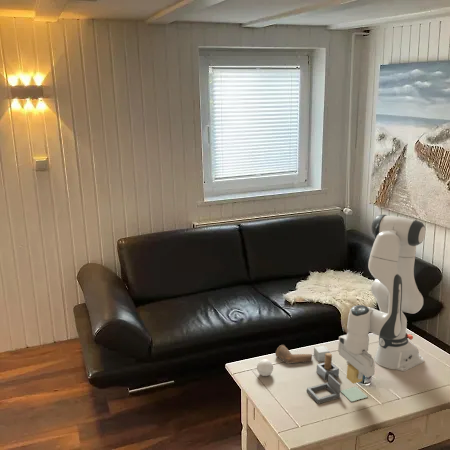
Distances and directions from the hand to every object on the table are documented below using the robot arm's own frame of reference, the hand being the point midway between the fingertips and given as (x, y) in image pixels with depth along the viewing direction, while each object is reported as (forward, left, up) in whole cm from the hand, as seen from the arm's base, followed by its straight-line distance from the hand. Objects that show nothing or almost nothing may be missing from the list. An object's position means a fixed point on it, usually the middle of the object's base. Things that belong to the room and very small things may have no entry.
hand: (354, 374), depth 214 cm
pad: (0, 0, -10) cm, 10 cm away
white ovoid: (+29, -28, -10) cm, 41 cm away
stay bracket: (+2, -17, -10) cm, 20 cm away
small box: (-3, -30, -10) cm, 32 cm away
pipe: (+9, -35, -10) cm, 37 cm away
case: (+12, -5, -10) cm, 16 cm away
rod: (+2, -17, -10) cm, 20 cm away
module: (0, 0, -2) cm, 2 cm away
